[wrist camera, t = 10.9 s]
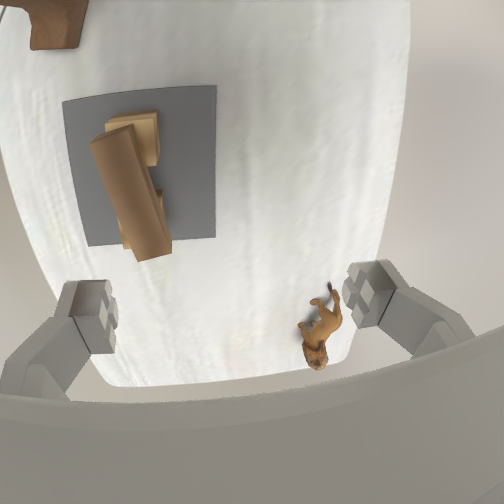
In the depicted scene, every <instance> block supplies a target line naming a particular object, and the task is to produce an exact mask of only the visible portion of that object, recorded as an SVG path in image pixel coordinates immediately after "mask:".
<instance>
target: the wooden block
mask: <svg viewBox="0 0 504 504" xmlns="http://www.w3.org/2000/svg"><path fill="white" fill-rule="evenodd" d="M87 4H88V0H0V5H3V6H12V7H19V8H23V9H24V10H25V11H27V12H28V13H29V17H30V21H31V25H32V29H31V39H30V50H33V51H34V50H49V49H74V48H77V46H78V43H79V38H80V33H81V29H82V24H83V20H84V16H85V11H86V7H87Z"/></svg>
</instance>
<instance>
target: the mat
mask: <svg viewBox="0 0 504 504" xmlns="http://www.w3.org/2000/svg"><path fill="white" fill-rule="evenodd" d="M216 87H217V86H188V87H170V88H157V89H146V90H136V91H127V92H119V93H112V94H105V95H98V96H92V97H86V98H80V99H75V100H70V101H65V102H62V106H63V116H64V125H65V133H66V140H67V147H68V154H69V160H70V166H71V172H72V177H73V183H74V188H75V193H76V197H77V202H78V207H79V211H80V215H81V220H82V224H83V228H84V232H85V236H86V240H87V244H88V247H89V246H102V245H114V244H122V239H121V234H120V229H119V223H118V218H117V215H116V213H115V210H114V208H113V206H112V203H111V201H110V198H109V196H108V193H107V191H106V188H105V186H104V183H103V181H102V178H101V176H100V173H99V171H98V168H97V165H96V163H95V160H94V157H93V154H92V152H91V149H90V146H89V144H90V143H91V142H92V141H93V140H94V139H95V137H96V136H98V135H101V134H103V133H106V132H105V123H106V122H107V121H109V120H110V119H111V118H112V117H113V116H114V115H115V114H123V113H131V112H141V111H152V110H158V120H159V142H160V153H159V157H158V161H157V165H156V166H147V168H148V171H149V174H150V177H151V180H152V183H153V186H154V189H155V190H163V198H164V209H165V219H166V223H167V225H168V228H169V231H170V234H171V236H172V240H184V239H199V238H214V237H216V229H215V137H216Z"/></svg>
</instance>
